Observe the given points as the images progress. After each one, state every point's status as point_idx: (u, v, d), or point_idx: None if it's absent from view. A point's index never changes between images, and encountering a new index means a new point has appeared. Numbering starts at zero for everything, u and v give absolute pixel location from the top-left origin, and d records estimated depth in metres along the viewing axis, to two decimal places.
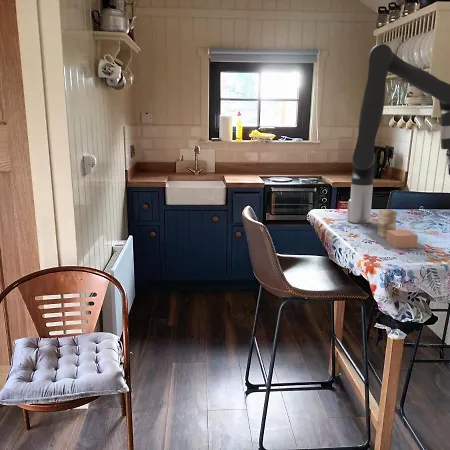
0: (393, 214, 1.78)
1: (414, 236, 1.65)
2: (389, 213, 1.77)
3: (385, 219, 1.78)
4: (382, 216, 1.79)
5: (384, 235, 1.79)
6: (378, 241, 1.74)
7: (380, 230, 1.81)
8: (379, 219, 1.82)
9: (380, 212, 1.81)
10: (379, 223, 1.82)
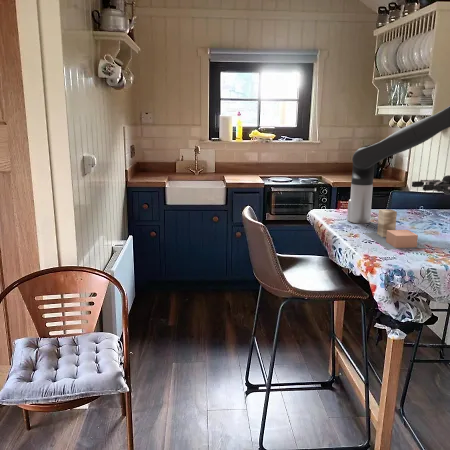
0: (393, 214, 1.78)
1: (414, 236, 1.65)
2: (389, 213, 1.77)
3: (385, 219, 1.78)
4: (382, 216, 1.79)
5: (384, 235, 1.79)
6: (378, 241, 1.74)
7: (380, 230, 1.81)
8: (379, 219, 1.82)
9: (380, 212, 1.81)
10: (379, 223, 1.82)
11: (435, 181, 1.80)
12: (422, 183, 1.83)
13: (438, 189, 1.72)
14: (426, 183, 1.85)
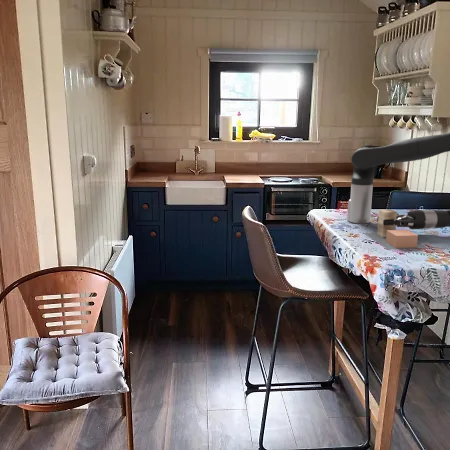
0: (393, 214, 1.78)
1: (414, 236, 1.65)
2: (389, 213, 1.77)
3: (385, 219, 1.78)
4: (382, 216, 1.79)
5: (384, 235, 1.79)
6: (378, 241, 1.74)
7: (380, 230, 1.81)
8: (379, 219, 1.82)
9: (380, 212, 1.81)
10: (379, 223, 1.82)
11: (400, 216, 1.82)
12: None
13: (397, 224, 1.76)
14: None
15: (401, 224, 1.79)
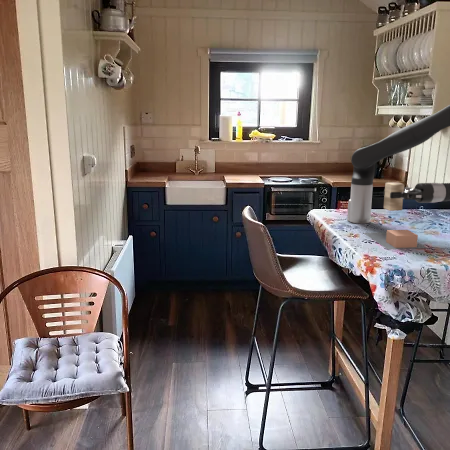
0: (400, 186, 1.72)
1: (414, 236, 1.65)
2: (396, 185, 1.72)
3: None
4: (389, 188, 1.73)
5: (391, 209, 1.74)
6: (378, 241, 1.74)
7: (386, 204, 1.76)
8: (386, 192, 1.76)
9: (387, 185, 1.75)
10: (386, 197, 1.76)
11: (408, 189, 1.76)
12: None
13: (405, 197, 1.70)
14: None
15: (408, 197, 1.74)
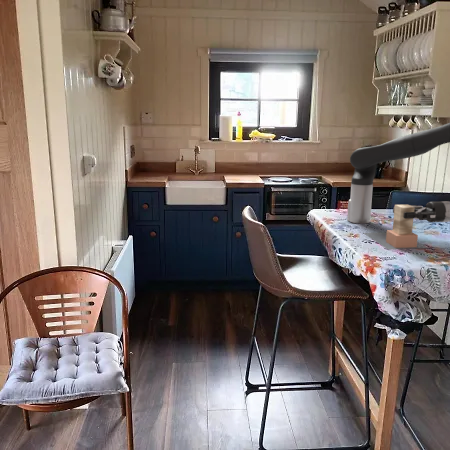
0: (410, 210, 1.64)
1: (414, 236, 1.65)
2: (406, 208, 1.64)
3: (402, 215, 1.64)
4: (398, 211, 1.65)
5: (400, 232, 1.66)
6: (378, 241, 1.74)
7: (396, 227, 1.68)
8: (395, 215, 1.68)
9: (396, 207, 1.67)
10: (395, 219, 1.68)
11: (418, 208, 1.68)
12: None
13: (420, 217, 1.61)
14: None
15: None
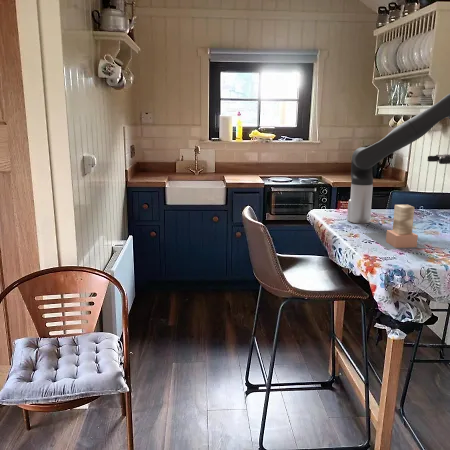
0: (410, 210, 1.64)
1: (414, 236, 1.65)
2: (406, 208, 1.64)
3: (402, 215, 1.64)
4: (398, 211, 1.65)
5: (400, 232, 1.66)
6: (378, 241, 1.74)
7: (396, 227, 1.68)
8: (395, 215, 1.68)
9: (396, 207, 1.67)
10: (395, 219, 1.68)
11: None
12: (438, 157, 1.83)
13: None
14: (441, 158, 1.85)
15: None
